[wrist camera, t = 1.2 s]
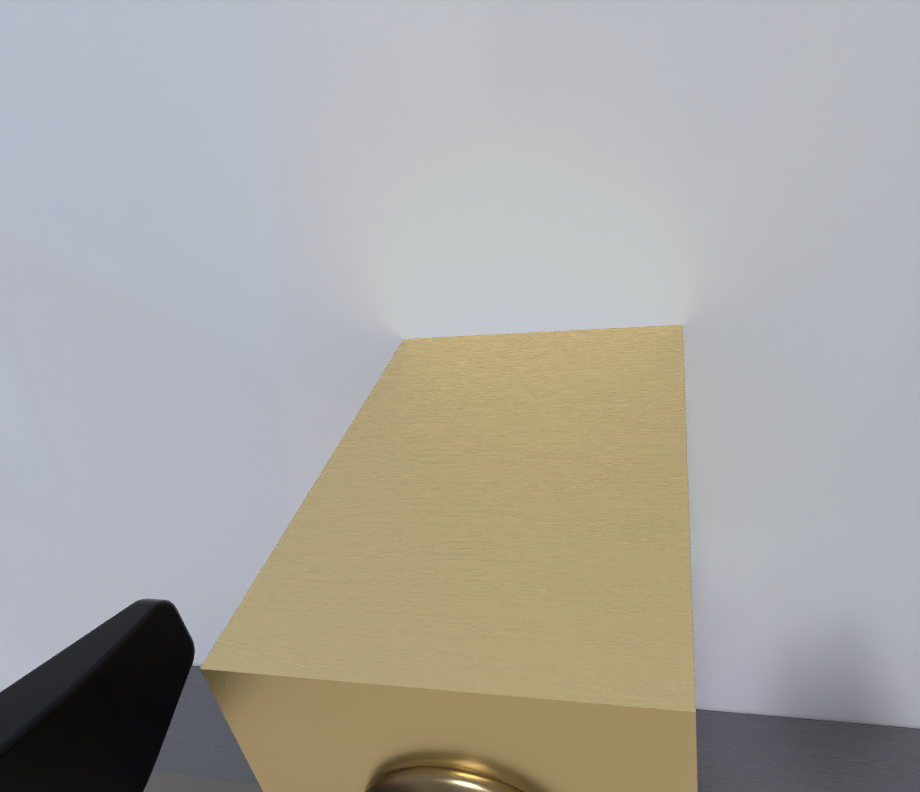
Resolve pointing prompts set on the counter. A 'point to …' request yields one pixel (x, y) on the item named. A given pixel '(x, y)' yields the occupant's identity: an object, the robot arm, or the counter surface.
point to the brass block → (483, 581)
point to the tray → (717, 738)
